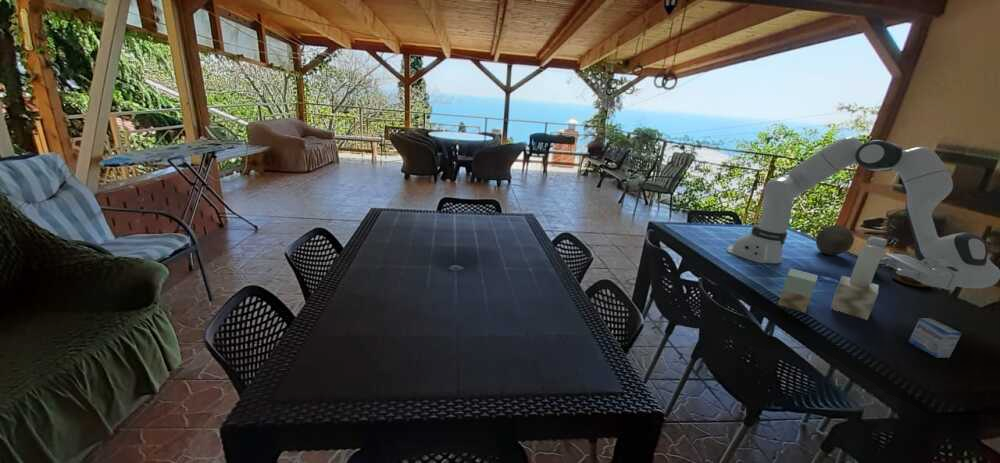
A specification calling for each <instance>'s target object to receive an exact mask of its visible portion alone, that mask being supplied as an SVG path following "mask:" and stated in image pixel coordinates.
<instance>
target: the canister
mask: <svg viewBox="0 0 1000 463" xmlns="http://www.w3.org/2000/svg"><path fill="white" fill-rule="evenodd" d="M884 251H885V249H884V248H882V247H879V246H875V245H870V244H867V243H865V244H862V246H861V249H860V251H859V254H858V256H857V259H856V263H855V265H854V267H853V269H852V270H853V271H852V273H851V275H850V280H849V283H851V284H853V285H855V286H858V287H863V288H869V287H870V284H871V283H873V279H874V277H875V274H876V272H877V269H878V267H877V266H879V265H880V264H879V261H880V259H881V258H882V257H883V255H884Z"/></svg>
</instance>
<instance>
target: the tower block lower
mask: <svg viewBox="0 0 1000 463" xmlns="http://www.w3.org/2000/svg"><path fill="white" fill-rule="evenodd" d="M812 296H813V294H812V295H811V298H812ZM811 298H808V297H805V296H802V295H798V294H795V293H791V292H788V291H785V290H783V289H782V291H781V294H780V297H779V301H778V306H781V307H784V308H788V309H791V310H794V311H798V312H800V311H801V313H803V312H804V313H803V314H806V312H807V311H808V310H807V309H808V308H807V307H809V305H810V302H811Z"/></svg>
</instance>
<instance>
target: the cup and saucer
mask: <svg viewBox="0 0 1000 463" xmlns="http://www.w3.org/2000/svg"><path fill="white" fill-rule="evenodd" d="M891 277H892V278H893V279H894V280H896V281H897V282H900V283H901V284H905V285H909V286H911V285H912V287H916V288H917V287H918V288H928V287H930V286H928V285H925V284H923V283H921V282H919V281H917V280H915V279H914V278H911V277H907V276H903V275H899V274H897V273H896V272H894V273H892V274H891ZM898 278H901V279H902V280H900V279H898ZM918 284H920V285H918Z"/></svg>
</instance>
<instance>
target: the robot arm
mask: <svg viewBox="0 0 1000 463" xmlns="http://www.w3.org/2000/svg"><path fill="white" fill-rule="evenodd" d="M854 164H858V165H859V166H860V167H862V168H863V169H865V170H866V169H867V170H869V171H874V172H890V171H892V170H893V171H896V172H897V174H898V175H899V176H900V178H901V181H902V183H903V185H904V188H905V191H906V202H905V213H906V216H907V220H908V222H909V226H910V230H911V231H910V232H911V233H912V238H913V242H914V254H915V257H916V258H914V257H912V256H910V255H905V254H900V253H893V252H885V253H883V255H882V257H881V259H880V261H879V264H878V265H887V266H889V267H892V268H893V269H895V270H896V271H895V273H897V274H899V275H903V276H907V277H911V278H914V279H915V280H917V281H919V282H921V283H923V284H925V285H928V286H929V287H934V288H939V289H944V290H947V291H954V290H955V289H956V288H957V287H959V288H967V289H985V288H989V287H992V286H994V285H995V284H997V283H998V282H999V280H1000V269H999V267H998V266H997V265H995V264H994V263H993V262H992V261H991V259H990V257H989V254H988V246H987V243H986V241H985V240H984V239H983V238H982V237H980V236H979V235H978V234H975V233H972V232H966V231H963V232H959V233H955V234H949V235H946V236H942V237H939V235H938V232H937V229H936V226H935V222H934V219H933V212H934V209H935V208H936V207H937V206H938V205H939V204H940V203H941V202H942V201H943V200H945V199H946V198H947V197H948V196H949V195H950V194H951V193H952V190H953V188H954V182H953V178H952V176H951V174H950V172H949V171H948V168H947V167H946V165H945V164H944V162H943V161H942V159H941V158H940V157H939V155H938V154H937V153H936V152H935V151H934V150H933V148H930V147H927V146H916V147H912V148H909V149H903V148H902V147H901V146H900V145H898V144H897V143H894V142H892V141H887V140H881V139H875V140H874V139H873V140H870V141H867V142H862V140H861V139H858V138H857V137H854V136H846V137H843V138H841V139H839V140H837V141H834V142H833V143H831V144H828V145H827V146H825V147H823V148H822V149H820V150H819V151H817V152H815V153H814V154H812V155H810V156H809V157H808V158H806V159H805V160H803V161H801V162H800V163H799V164H797V165H796V166H795V167H793V168H792V169H790V170H789V171H787V172H786V173H784V174H783V175H780V176H778V177H774V178H772V179H770V180H769V181H768V182H767V183H766V184H765V185H764V187H763V190H762V192H763V198H762V208H761V209H762V210H761V215H760V217H759V218H760V219H759V221H758V224H755V225H752V228H751V233H748V234H744V235H743V236H740V237H738V238H737V239H736V240H735V242H734V243H733V244H732V245H729V246H728V247H727V248H726V252H727V253H729V254H732V255H735V256H738V257H741V258H744V259H746V260H750V261H753V262H756V263H758V264H759V263H760V264H781V263H782V262H783V246H784V244H785V242H786V240H787V236H788V232H787V231H788V228H789V226H790V225H789V224H790V222H791V218H792V207H793V202H794V198H797V197H799V196H800V195H802V194H803V193H805V192H806V191H808V190H811V188H814V187H815V186H817V185H819V184H820V183H822V182H824V181H826V179H829V178H831V177H832V176H833V175H836V174H838V173H839V172H840V171H842V170H844V169H846V168H848V167H850V166H851V165H854Z"/></svg>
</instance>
